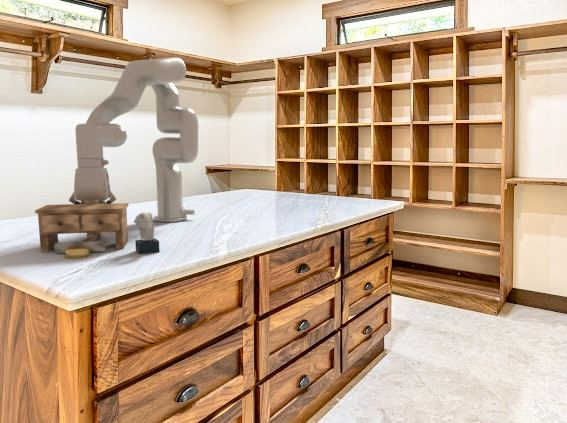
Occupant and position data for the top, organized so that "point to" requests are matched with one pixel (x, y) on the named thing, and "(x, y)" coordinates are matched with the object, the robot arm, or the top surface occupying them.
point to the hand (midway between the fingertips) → (94, 221)
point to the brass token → (77, 252)
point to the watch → (146, 234)
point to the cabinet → (82, 222)
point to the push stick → (88, 241)
